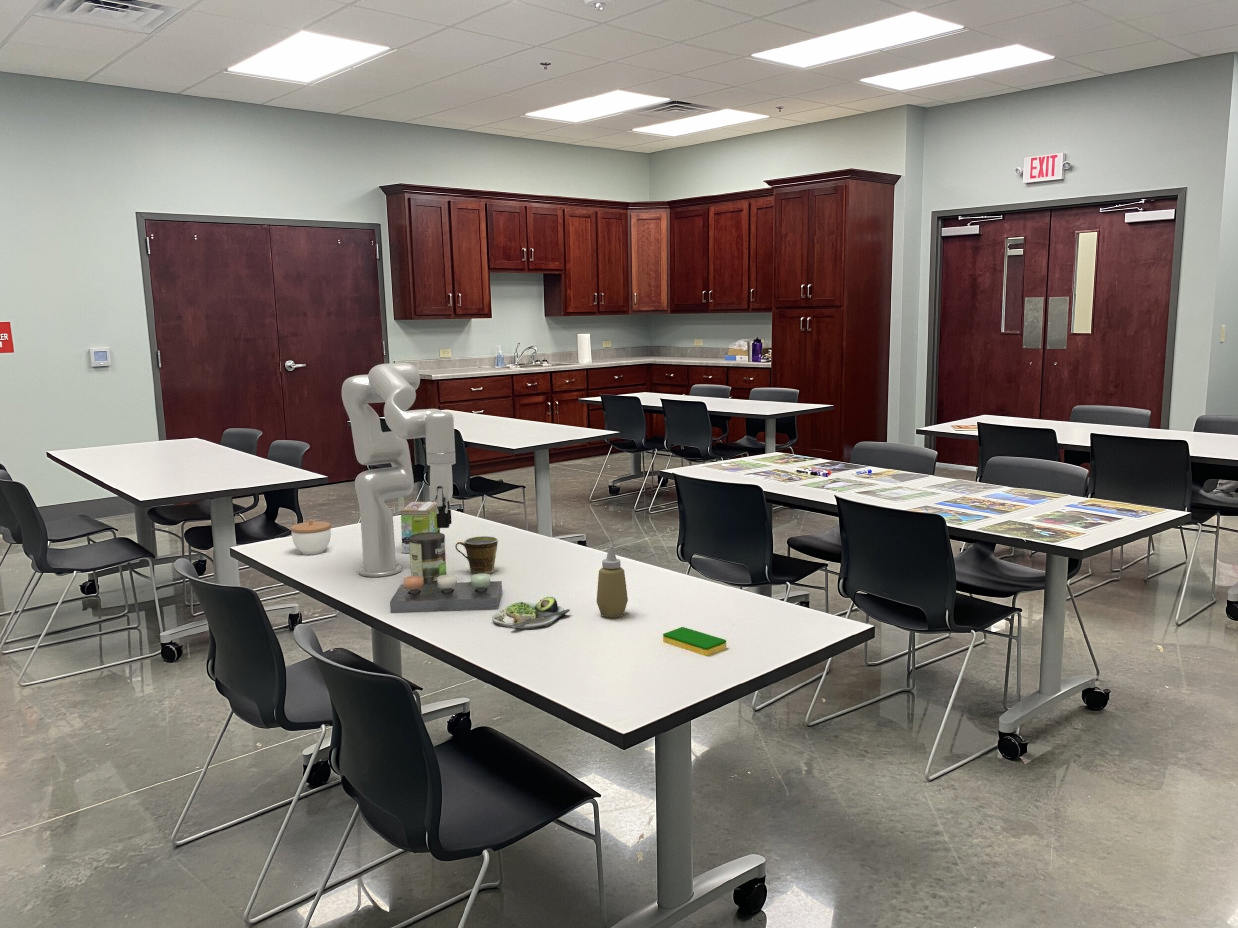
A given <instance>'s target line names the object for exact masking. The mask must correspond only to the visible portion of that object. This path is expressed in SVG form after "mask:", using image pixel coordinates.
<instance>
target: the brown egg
mask: <svg viewBox="0 0 1238 928" xmlns="http://www.w3.org/2000/svg"><path fill="white" fill-rule="evenodd" d="M403 584H404V588H405V589H408V590H410V594H419V589H420V588H423V587H424V581H423V577H422V576H411V575H409V576H406V577H404V578H403Z"/></svg>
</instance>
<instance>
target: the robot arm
mask: <svg viewBox="0 0 1238 928" xmlns="http://www.w3.org/2000/svg"><path fill="white" fill-rule="evenodd" d="M420 382H421V375H420V372H419V370H418V368H417V367H416V366H415V365H414V364H412V363H409V362H392V363H391V362H390V363H381V364H377V365H375V366H373V367H371V369H370V370H369V372H368V374H359V375H353V376H350V377H348V378H346V379H345V380H344V381H343V383H342V386H341V399H342V403H343V406H344V409H345V411H346V414H347V416H348V418H349V420H350V421H349V422H350V426H351V434H352V439H353V445H354V454H355V456H356V457H355V458H356V460H357V462H358V463H359V464H360V465H363V466H375V465H382V464H383V465H384V464H391V467H383V468H382V467H381V468H380V467H379V468H374V469H373V468H372V469H368V470H365V471H362V472H360V473H359V474H357V476H356V478H355V480H354V488H355V492H356V497H357V501H358V506H359V507H358V508H359V515H360V529H361V543H362V544H361V545H362V560H363V566H361V567H360V568H359V569H358V574H359V575H360V576H362V577H370V578H377V577H379V578H381V577H387V576H393V575H395V574H398V573H400V572H401V570H402V565H400V564H399V563H397V562H396V561H397V560H396V545H395V542H396V541H395V529H394V526H395V525H394V515H393V512H392V510H391V508H390V507H389V506H388V505H387V504H386V503H385V501H388V500H393V499H399V498H404V497H408V496H410V495H411V494H412V493H413V490H414V487H415V486H414V485H415V484H414V473H413V472H414V471H413V468H412V467H413V466H412V461H411V453H410V448H409V447H410V446H409V443H408V441H407V440H409V439H410V440H412V439H421V438H425V452H426V465H427V466H430V467H429V499H430V500H429V502H432V503H433V502H436V506H437V513H436V516H437V528H440V529H449V528H450V525H451V524H452V509H451V498H453V492H454V490H453V488H454V487H453V486H454V484H453V467H452V466H453V465H455V464H456V445H455V444H456V443H455V441H456V440H455V424H454V421H455V420H454V416H453V415H454V414H453V413H451V412H450V411H442V410H441V409H438V408H428V409H427V408H426V409H424V408H423V409H413V410H411V409H410V408H411V407H413V405H414V403H415V401H416V397H417V393H416V390H417V389H418V388H419V386H420ZM375 403H379V404H380V403H385V404H384V407H383V416H384V420H385V423H386V426H388V428H389V429H390V431H384V432H383V431H382V427H381V420H380V416H379V414H378V413H377V412H376V411H375V409H373V407H372V406H371V405H369V404H375ZM409 409H410V410H409Z"/></svg>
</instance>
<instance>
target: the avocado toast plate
mask: <svg viewBox="0 0 1238 928" xmlns="http://www.w3.org/2000/svg"><path fill="white" fill-rule="evenodd" d="M569 612H571V609H570V608H569V609H568V608H567V609H564V608H563V606H559V605H558V601H557V599H556V598H555V597H554V596H546V597H543V598H542V599H539V602H537V603H534V602H523V601H519V602H514V603H511V604H508V605H506V606H505V607H503V608H502V609H500V610H499V611H498V612H496V613H494V614H493V615H492V616H491V620H492V621H493V623H496V624H497V625H498V626H501V627H503V626H504V627H503V628H509V627H510V628H511V629H517V628H518V630H525V629H537V628H541V627H547V626H549V625H551V624H552V623H554V622H556V621H558V619H560V618H561V617H563V616H565V615H566V614H567V613H569ZM506 617H510V618H513V620H514V623H513V622H506V621H505V619H506ZM503 619H504V621H503Z"/></svg>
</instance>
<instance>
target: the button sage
mask: <svg viewBox="0 0 1238 928" xmlns="http://www.w3.org/2000/svg"><path fill="white" fill-rule="evenodd" d="M490 581H491V574H485V573H480V574H472V575H470V582H471V586H473V587H477V592H486V588H485V587H486V586H489V585H490V584H491V583H490Z"/></svg>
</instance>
